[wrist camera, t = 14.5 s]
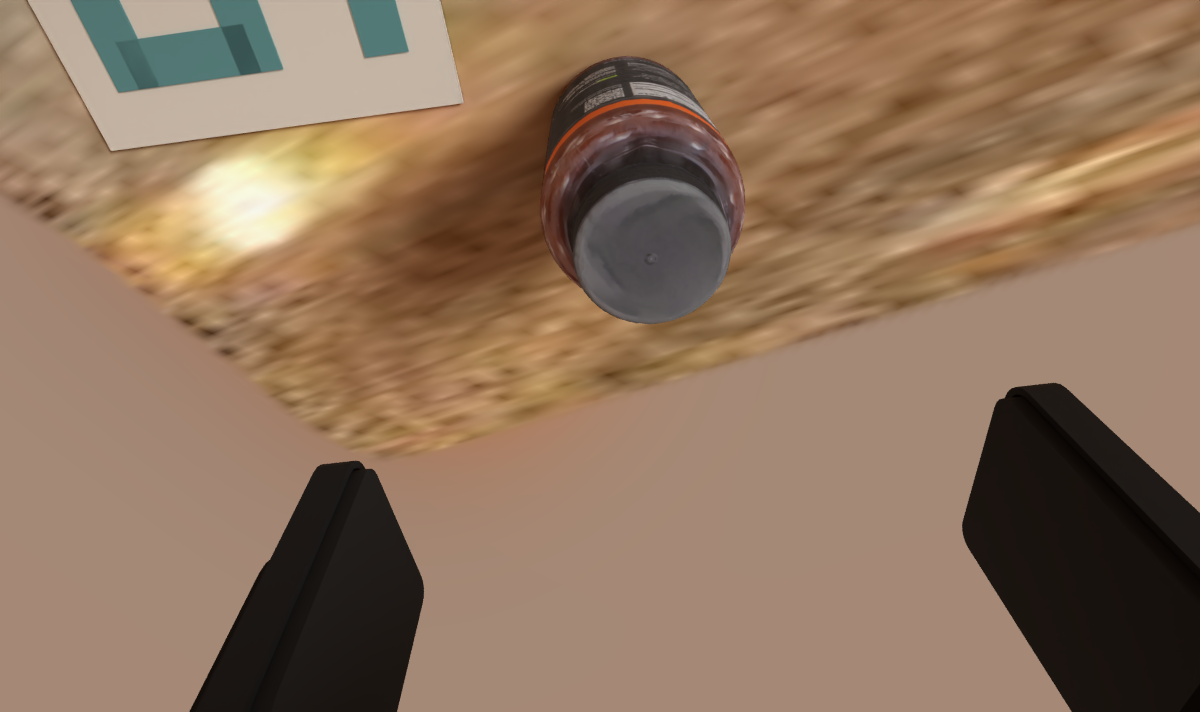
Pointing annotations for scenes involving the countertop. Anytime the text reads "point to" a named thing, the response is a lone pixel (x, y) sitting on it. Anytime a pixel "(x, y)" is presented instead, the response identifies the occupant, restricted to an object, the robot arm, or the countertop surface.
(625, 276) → the supplement bottle
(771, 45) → the countertop surface
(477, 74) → the countertop surface
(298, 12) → the letter board
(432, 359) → the countertop surface
